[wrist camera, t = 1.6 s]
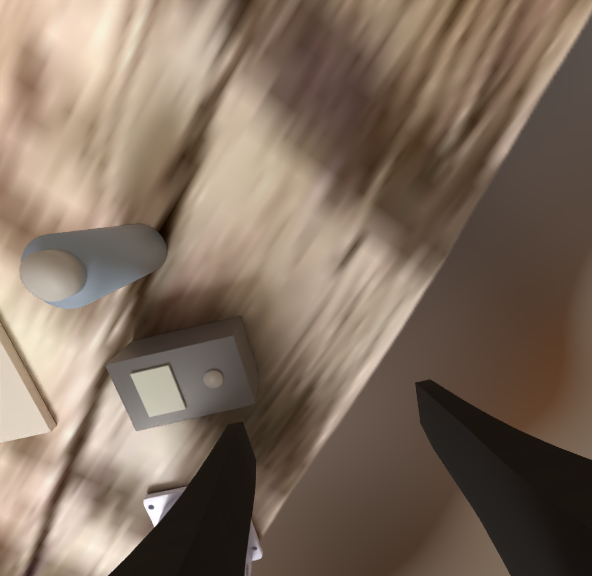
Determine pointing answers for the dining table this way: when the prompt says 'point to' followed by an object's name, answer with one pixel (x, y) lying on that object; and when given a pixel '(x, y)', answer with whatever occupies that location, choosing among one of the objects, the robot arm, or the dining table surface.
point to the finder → (186, 374)
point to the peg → (89, 263)
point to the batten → (19, 398)
